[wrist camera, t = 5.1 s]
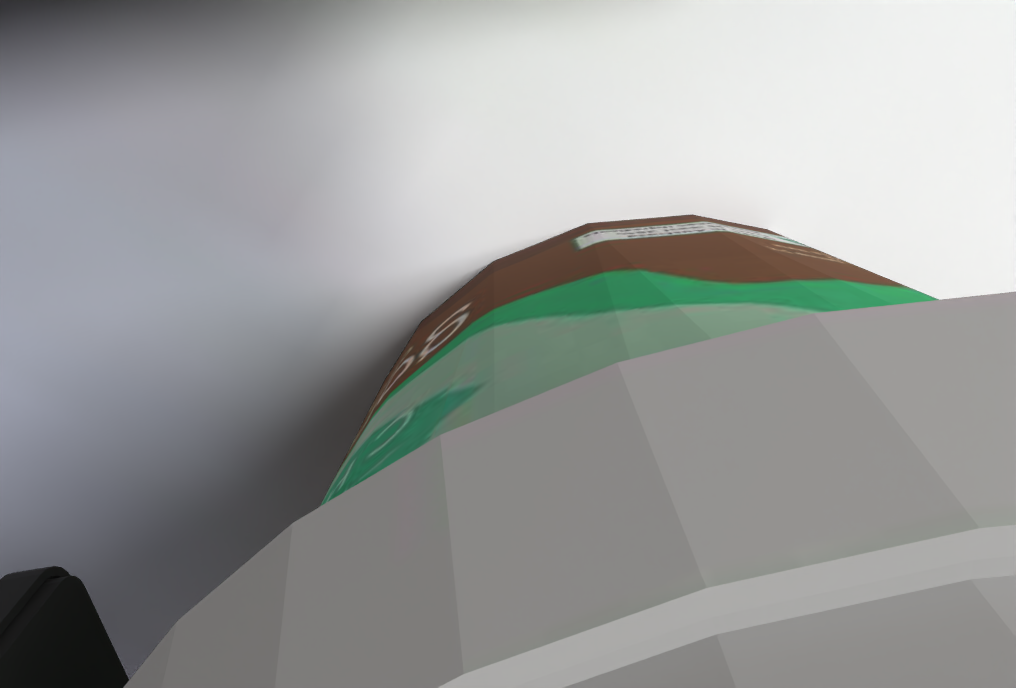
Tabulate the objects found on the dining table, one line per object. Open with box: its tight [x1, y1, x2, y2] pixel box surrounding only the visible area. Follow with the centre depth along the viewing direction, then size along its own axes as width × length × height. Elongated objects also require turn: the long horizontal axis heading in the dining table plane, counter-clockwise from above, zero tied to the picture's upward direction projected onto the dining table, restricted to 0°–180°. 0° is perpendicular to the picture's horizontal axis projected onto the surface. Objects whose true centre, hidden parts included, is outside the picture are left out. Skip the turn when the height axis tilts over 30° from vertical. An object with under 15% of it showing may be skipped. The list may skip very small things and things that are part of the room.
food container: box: [123, 215, 1016, 688], centre depth 9 cm, size 12×6×10 cm, turn 164°
